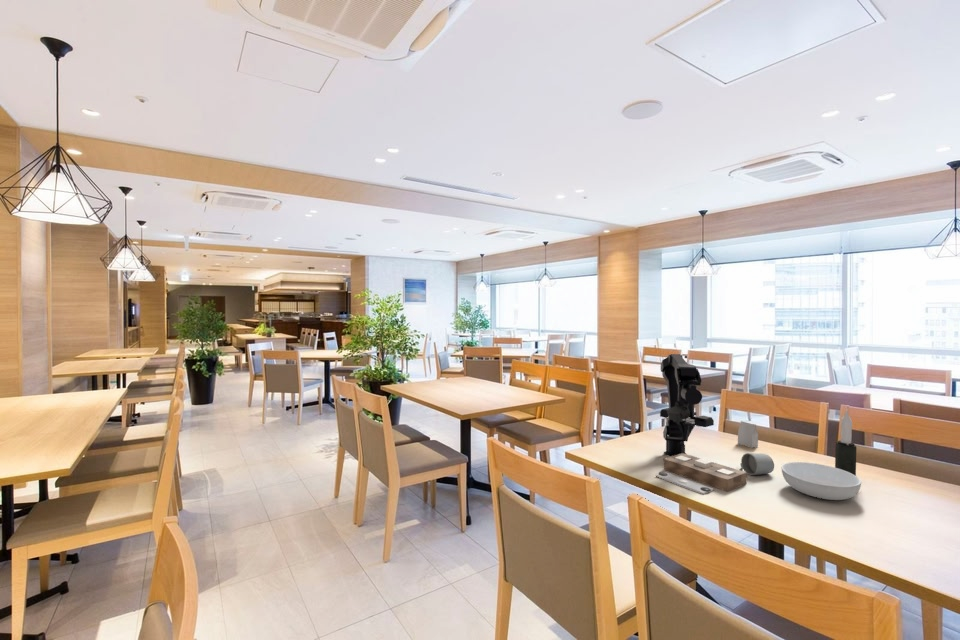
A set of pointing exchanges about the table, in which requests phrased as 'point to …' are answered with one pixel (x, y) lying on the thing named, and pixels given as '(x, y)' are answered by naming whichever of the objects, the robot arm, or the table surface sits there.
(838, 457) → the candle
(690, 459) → the button
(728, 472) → the button
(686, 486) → the pattern card
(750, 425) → the grey angular block
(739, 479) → the button board
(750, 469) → the ceramic mug
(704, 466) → the middle button
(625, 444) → the table surface
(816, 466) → the serving bowl
